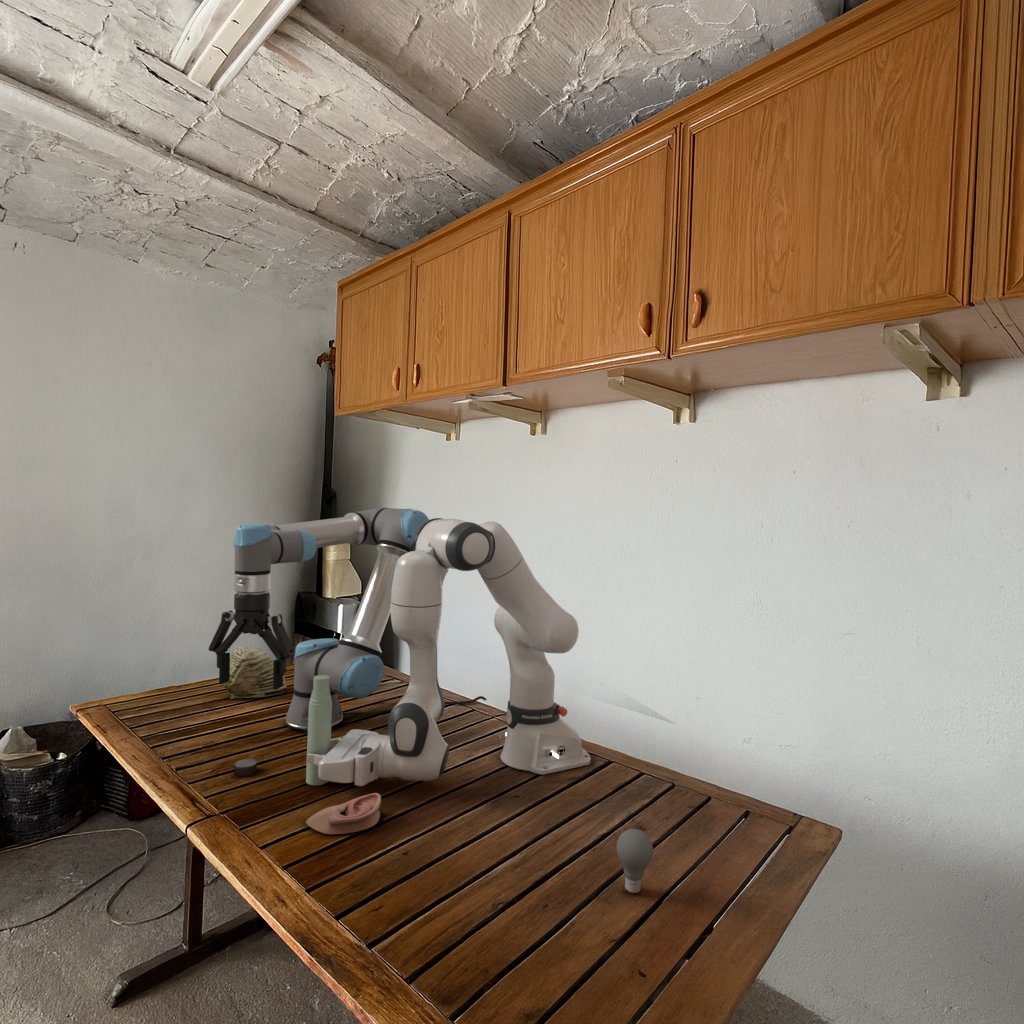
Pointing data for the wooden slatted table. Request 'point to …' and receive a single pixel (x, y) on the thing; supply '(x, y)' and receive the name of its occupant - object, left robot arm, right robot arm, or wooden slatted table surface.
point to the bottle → (319, 725)
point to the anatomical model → (347, 816)
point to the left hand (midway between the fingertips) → (250, 685)
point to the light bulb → (634, 857)
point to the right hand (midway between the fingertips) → (314, 750)
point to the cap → (245, 767)
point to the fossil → (251, 674)
